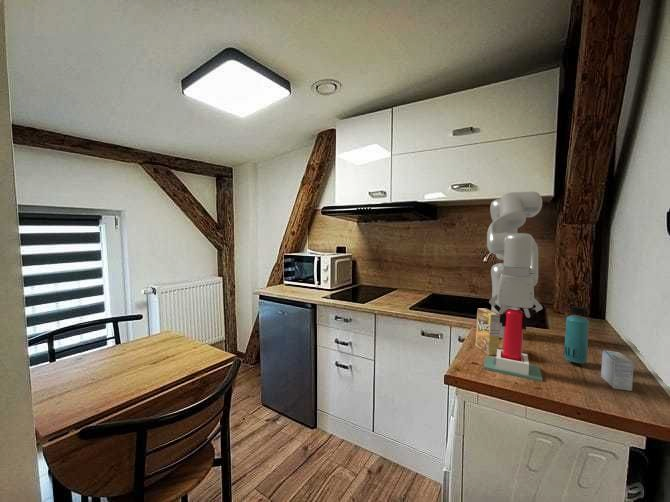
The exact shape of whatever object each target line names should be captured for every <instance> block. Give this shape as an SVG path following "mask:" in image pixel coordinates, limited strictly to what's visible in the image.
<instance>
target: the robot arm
mask: <svg viewBox="0 0 670 502" xmlns="http://www.w3.org/2000/svg"><path fill="white" fill-rule="evenodd" d="M542 207H543V199H542V196H541V194H540V193H539V192H537V191H515V192H514V191H513V192H507V193H505V194H503V195H501V197H500V198H497V199H494V200H493V201H491V203H490V207H489V211H490V212H489V213H490V217H491V221H492V222H491V223H490V225H489V226H488V228H487V232H486V246H487V250H488V252H489V253H491V254H493V255H495V257H496V259H498V260H502V261H503V262H498V263H495V264H493V265H492V266H491V269H490V277H491V288H492V289H491V291H492V292H491V298H490V299H489V301H488V303H489V304H490V305H491V309H490V310H491V311H493V312H496V313H498V314H500V333H499V339H500V338H501V339H503V335H504V322H505V310H507V309H509V307H516V308H520V309H522V310H523V311H524V312H523V313H524V323H523V331H524V330H525V331H526V330H527V327H528V328H529V327H530V326H529V325H530V324H529V322H530V318H531V317H532V316H533V315H536V314H537V313H538V312H539V311H541V310H543V309H544V308H543V306H542V304H540V302H539V301H538V300H537V299H536V298H535V286H536V285H537V284H538V280H539V247H538V244H537V242H536V240H535V238H533V237H534V236H532V234H529V233H523V232H522V233H521V232H520V233H519V232H518V229H519V228H521V227H523V226H524V224H525V223H526V222H527V221H526V220H527V218H534V217H535V216H536V215H538V214H539V213H540V211H541V210H542ZM534 306H535V307H534ZM529 309H530V310H529Z"/></svg>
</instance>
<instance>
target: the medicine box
mask: <svg viewBox="0 0 670 502" xmlns="http://www.w3.org/2000/svg"><path fill="white" fill-rule="evenodd" d="M601 355H602V356H601V368H600V377H601V378H602V379H603V380H604V381H605V382H606V383H608V385H610V387H612V389H614V390H621V391H628V392H631V391H633V382H634V381H633V380H634V365H635V364H634V361H632V360H631V359H630V358H628V357H627V356H625V355H624V354H623V353H621V352H617V351H611V350H602V353H601Z"/></svg>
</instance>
